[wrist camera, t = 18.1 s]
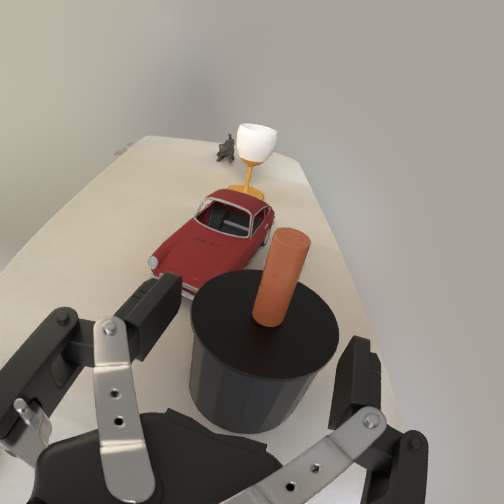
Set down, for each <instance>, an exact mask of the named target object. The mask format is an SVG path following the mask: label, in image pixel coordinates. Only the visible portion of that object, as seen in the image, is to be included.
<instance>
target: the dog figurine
mask: <svg viewBox="0 0 504 504" xmlns="http://www.w3.org/2000/svg"><path fill="white" fill-rule="evenodd" d="M219 147H220V151H219V152H218V153H217V155H218V156H219V155H220V156H219V157H218V159H217V160H216V161H220V160H221V159H223V158H224V157H225V156H226V157H228V156H230V159H229V163H232V160H234V156H233V155H234V140H233V139H232V138H231V135H230V134H229V139H228V140H227V141H226V142H225V143H224V144H220V145H219ZM224 155H225V156H224Z"/></svg>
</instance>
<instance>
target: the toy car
mask: <svg viewBox="0 0 504 504" xmlns="http://www.w3.org/2000/svg"><path fill="white" fill-rule="evenodd" d="M207 199H209V200H213V201H212V202H211V203H210V204H207V205H208V206H207V205H205V208H204V209H203V210H202V211H200V212H199V210H200V209H201V207H202V205H203V203H204V201H205V200H207ZM206 206H207V207H206ZM198 212H199V213H198ZM274 219H275V216H274V211H273V210H272V207H271V206H269V205H268V204H267V203H265V202H264V201H262V200H260V199H258V198H257V197H254V196H251V195H249V194H246V193H242V192H239V191H235V190H230V189H221V190H218V191H216V192H214V193H212V194H210V195H208V196H207V197H205V198H204V199H203V201H202V203H201V205H200V207H199V208H198V210H197V212H196V214H195V216H194V217H193V218H192V219H191V220H189V221H188V222H187V223H186V224H185V225H183V226H182V227H181V228H180V229H179V230H177V231H176V232H175V233H174V234H173V235H172V236H170V237H169V238H168V239H167V240H166V241H165V242H163V243H162V244H161V246H160V247H159V248H158V249H157V250H156V251H155V252H154V253H153V255H152V256H151V257H150V258H149V259H148V264H149V266H150V268H151V270H152V272H153V274H154V275H153V274H152V273H151V275H150V277H151V278H156V279H158V280H159V279H160V278H161V276H162V275H163V274H164V273H165V272H166V271H169V272H171V273H174V274H176V275H179V276H182V278H183V284H182V296H183V297H186V298H188V299H190V300H193V298H194V296H195V294H196V293H197V291H198V290H199V288H200V287H201V286H202V285H203V284H204V283H206V282H207V281H208V280H210V279H212V278H213V277H215V276H217V275H220V274H223V273H226V272H230V271H236V270H243V268H244V267H245V266H246V264H247V263H248V262H249V261H250V259H251V258H252V256H253V255H254V254H255V252H256V251H257V249H258V248H259V247H260V246H264V245H265V244H266V242H267V239H268V237H269V234H270V230H271V226H272V225H274V222H275V221H274Z"/></svg>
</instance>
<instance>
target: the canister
mask: <svg viewBox="0 0 504 504" xmlns="http://www.w3.org/2000/svg"><path fill="white" fill-rule="evenodd" d="M316 374H317V372H316V373H315V374H313V375H311V376H309V377H306V378H304V379H300V380H296V381H291V382H265V381H259V380H254V379H250V378H247V377H244V376H242V375H239V374H237V373H235V372H233V371H231V370H229V369H227V368H225V367H224V366H222V365H221V364H219V363H218V362H216V361H215V360H214V359H213V358H212V357H211V356H209V354H208V353H207V352H206V351H205V350H204V349H203V348H202V346H201V345H200V343H199V342H198V341H197V339H196V337H195V335H194V343H193V352H192V362H191V372H190V383H189V388H190V393H191V396H192V399H193V401H194V403H195V405H196V407H197V408H198V410H199V411H200V412H201V413H202V414H203V416H204V417H206V418H207V419H208V420H209V421H210V422H212V423H213V424H215V425H217V426H219V427H221V428H223V429H225V430H228V431H231V432H235V433H242V434H255V433H261V432H265V431H268V430H271V429H273V428H275V427H277V426H278V425H280V424H281V423H282V422H284V421H285V420H286V419H287V417H288V416H289V415H290V414H291V413H292V412H293V411H294V409H295V408H296V406H297V405H298V403H299V401H300V400H301V398H302V397H303V395H304V394H305V392H306V390H307V389H308V387H309V386H310V384H311V382H312V381H313V379H314V377H315V376H316Z"/></svg>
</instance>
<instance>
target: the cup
mask: <svg viewBox="0 0 504 504" xmlns="http://www.w3.org/2000/svg"><path fill="white" fill-rule="evenodd" d="M277 135H278V133H277V131H275V130H273V129H271V128H268V127H265V126H260V125H255V124H240V126H239V129H238V132H237V150H238V154H239V156H240V158H241V159H242V161H243V162H245V163H246V164H248V166H249V168H248V173H247V178H246V183H245V186H243V185H233V186H229V187H228V188H227V189H230V190H235V191H239V192H242V193H246V194H249V195H251V196H254V197H257V198H258V199H260V200H262V199H263V198H264V195H263V193H261V192H260V191H259V190H257V189H255V188H252V187H249V181H250V176H251V171H252V167H253V166H256V165H260V164H262V163H264V162H265V161H266V160H267V159H268V158H269V157H270V156H271V154H272V152H273V150H274V148H275V145H276V142H277Z"/></svg>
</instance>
